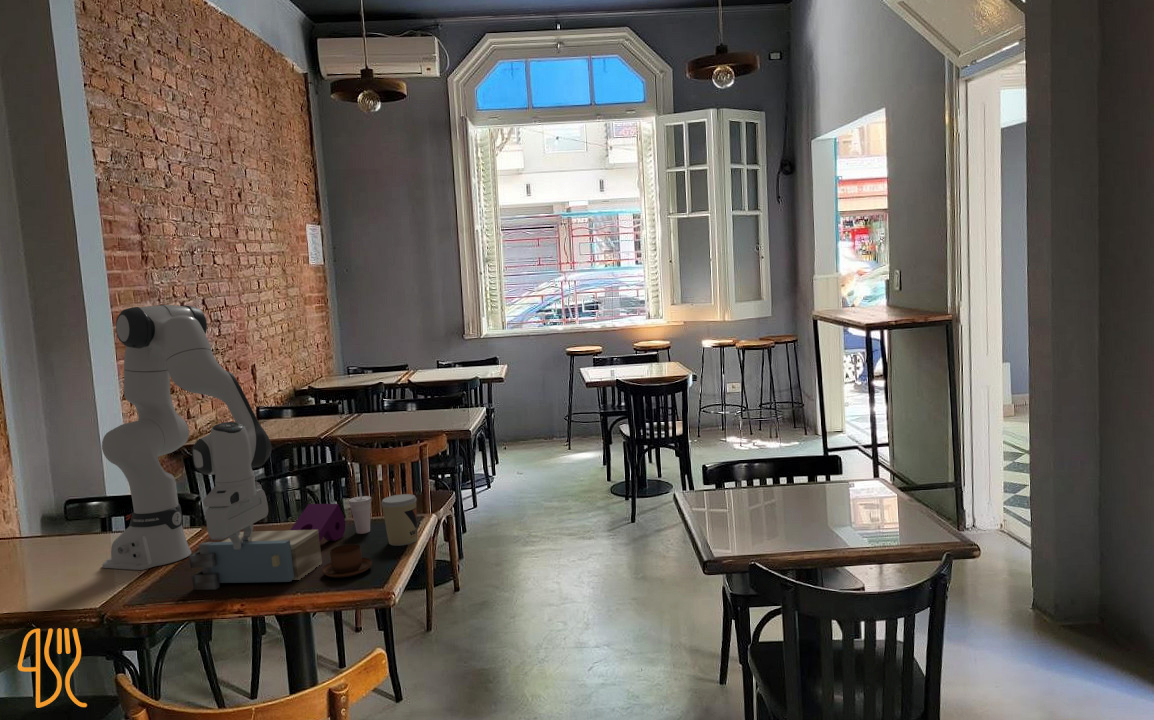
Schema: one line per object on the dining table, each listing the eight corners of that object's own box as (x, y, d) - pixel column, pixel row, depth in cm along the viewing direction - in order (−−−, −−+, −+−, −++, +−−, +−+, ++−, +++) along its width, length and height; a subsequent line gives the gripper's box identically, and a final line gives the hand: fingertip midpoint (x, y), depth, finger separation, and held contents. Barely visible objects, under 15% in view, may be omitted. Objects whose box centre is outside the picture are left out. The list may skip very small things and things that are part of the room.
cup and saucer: (312, 580, 207) (309, 555, 206) (343, 563, 218) (340, 540, 217) (353, 583, 202) (350, 557, 202) (382, 565, 213) (380, 541, 213)
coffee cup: (416, 545, 228) (412, 501, 227) (382, 547, 228) (377, 504, 227) (423, 534, 237) (419, 492, 236) (390, 537, 237) (385, 495, 236)
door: (198, 585, 207) (193, 547, 206) (209, 579, 211) (204, 541, 210) (286, 583, 202) (281, 545, 202) (295, 577, 206) (290, 539, 206)
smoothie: (363, 536, 241) (357, 487, 239) (347, 534, 244) (341, 486, 243) (379, 529, 246) (374, 481, 245) (363, 527, 249) (358, 480, 248)
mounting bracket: (318, 574, 229) (348, 526, 245) (306, 551, 225) (338, 503, 240) (287, 574, 232) (319, 526, 247) (275, 550, 228) (308, 503, 243)
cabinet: (193, 589, 207) (188, 553, 206) (233, 565, 223) (229, 532, 222) (288, 588, 202) (283, 551, 201) (322, 563, 218) (318, 529, 218)
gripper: (248, 480, 216) (254, 533, 217) (198, 502, 196) (206, 560, 197) (271, 479, 215) (277, 532, 216) (223, 501, 195) (230, 560, 196)
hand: (243, 546), depth 206 cm, fingers closed on door, 2 cm apart
